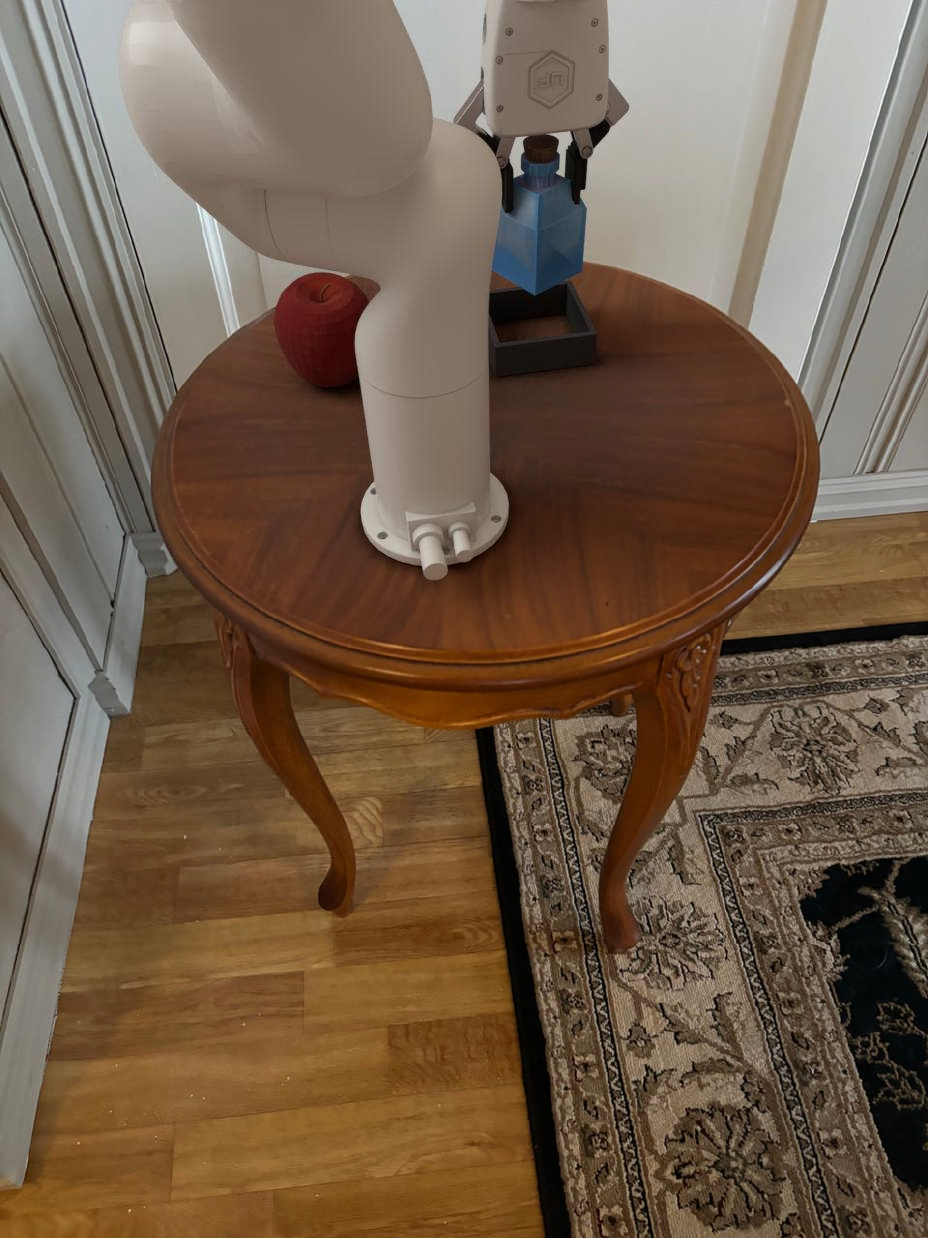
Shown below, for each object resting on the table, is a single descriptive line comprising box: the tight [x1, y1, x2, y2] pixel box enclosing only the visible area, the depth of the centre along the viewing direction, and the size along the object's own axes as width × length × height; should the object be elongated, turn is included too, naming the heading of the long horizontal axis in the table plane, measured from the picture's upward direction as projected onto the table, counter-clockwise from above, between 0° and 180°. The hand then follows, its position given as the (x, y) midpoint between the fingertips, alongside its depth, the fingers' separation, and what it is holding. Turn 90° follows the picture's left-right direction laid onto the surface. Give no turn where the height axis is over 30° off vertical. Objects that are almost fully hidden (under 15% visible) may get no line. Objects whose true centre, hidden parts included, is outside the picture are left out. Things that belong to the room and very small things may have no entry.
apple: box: [273, 271, 370, 389], centre depth 86 cm, size 10×10×10 cm
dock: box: [488, 279, 598, 378], centre depth 91 cm, size 10×10×4 cm
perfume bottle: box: [491, 134, 588, 295], centre depth 82 cm, size 6×6×12 cm
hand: (538, 199), depth 81 cm, fingers closed on perfume bottle, 5 cm apart
